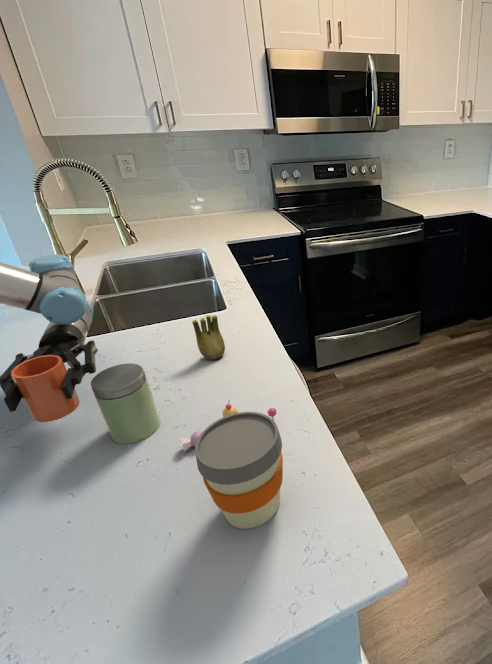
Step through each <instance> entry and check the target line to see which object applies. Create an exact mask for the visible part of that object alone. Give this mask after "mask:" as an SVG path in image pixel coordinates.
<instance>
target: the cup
mask: <svg viewBox="0 0 492 664" xmlns="http://www.w3.org/2000/svg"><path fill="white" fill-rule="evenodd" d="M67 370H68V369H67V368H66V365H65V363H63V360H62V358H61V357H59V356H57V355H45V356H39V357H35V358H32V359H29V360H27V361H24V362H22V363H21V364H19V365H17V366H16V367H15V368H14V369H13V370H12V371H11V376H12V378H13V380H14V382H15V384H16V386H17V388H18V390H19V392H20V394H21V396H22V401H23V402H24V404H25V406H26V408H27V410H28V411H29V414H30V416H31V418H32V419H33V420H34V421H36V422H39V423H50V422H54V421H57V420H60V419H63V418H65V417H67V416H69V415H71V414H72V413H73V412H74V411H76V410H77V409H78V407H79V406H80V399H79V396H78V393H77V391H76V389H74V392H73V395H72V398H70V399H66V397H65V395H64V392H63V390H62V388H61V387H62V384H63V381H64V378H65V376H66V373H67Z"/></svg>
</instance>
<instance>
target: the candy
mask: <svg viewBox="0 0 492 664" xmlns="http://www.w3.org/2000/svg"><path fill="white" fill-rule="evenodd" d="M230 400H231V399H230V398H228V402H227V404H226V405H225V408H224V409H223V410H222V418H223V417H225V416H228V415H231V414H235V413H238V410H237V408H236V407H234V406H233V405H232V404H231V403H230ZM276 415H277V410H276V408H274V407H270V408H268V410H267V416H269V417H270V418H272V419H273V421H274V422H275V416H276ZM202 432H203V431H194V432H193V433H192V434H191V436H190V438H187V437H180V441H181V444H182V448H183V451H184V452H186V451H188V450H189V449H190V448H191V447H192V446H193V447H196V443H197V440H198V438H199V436H200V435H201V433H202Z"/></svg>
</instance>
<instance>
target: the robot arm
mask: <svg viewBox="0 0 492 664" xmlns="http://www.w3.org/2000/svg"><path fill="white" fill-rule="evenodd" d="M28 267H29V270H28V269H24V268H20V267H19V266H18V267H17V266H14V265H12V264H8V263H3V262H1V261H0V305H5V306H9V307H12V308H16V309H21V310H25V311H29V312H32V313H37V314H41V316H42V317H44V319H45V320H47V321H49V323H48V324H47V326H46V327H45V329H44V332H43V334H42V336H41V338H40V340H39V342H38V348H37V349H36V350H33V353H31V354H28V355H26V354H24V353H21V352H19V353H18V354H15V358H14V361H12V363H11V364H10V365H9V366H8V368H6V369H5V371H4V372H2V374H1V375H0V388H1V390H2V391H3V393H4V394H5V396H4V399H3V401H4V403H5V405H6V406H7V409H8V410H9V412H10V413H12V412H16V411H17V409H18V407H19V405H20V403H21V401H22V400H23V398H22V396H21V394H20V392H19V390H18V388H17V386H16V384H15V382H14V380H13V378H12V376H11V371H12V370H13V369H14V368H15V367H16V366H17V365H19V364H21V363H22V362H24V361H27V360H29V359H32V358H35V357H39V356H45V355H57V356H59V357H61V358H62V360H63V363H64V364H65V363H67V365H68V366H69V367H67V369H66V370H67V373H66V376H65V378H64V381H63V384H62V387H61V388H62V390H63V392H64V395H65V397H66V399H70V398H72V395H73V392H74V389H75V388H76V385H80V384H82V382H83V378H84V377H85V376H86V374H94V373H96V371H97V367H96V355H97V353H98V351H99V350H98V348H97V345H96V342H95V340H89V341H88V342H86V339H87V335H88V332H89V329H90V328H91V325H92V323H93V319H94V309H93V306H92V305H91V304H90V303H89V302H88V301H87V297H86V296H85V293H84V292H83V290H82V288H81V285H80V282H79V281H78V278H77V275H76V272H75V269H74V266H73V264H72V262H71V260H70V258H69V257H68V256H67V255H64V254H48V255H42V256H39V257H35V258H34V259H32V260H31V261H29V263H28ZM85 342H86V343H85ZM82 353H83V354H84V363H83V364H81V362H80V361H79V360H78V359H77V357H79V356H80V355H81V354H82ZM75 390H76V389H75Z"/></svg>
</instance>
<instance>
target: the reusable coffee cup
mask: <svg viewBox="0 0 492 664" xmlns="http://www.w3.org/2000/svg"><path fill="white" fill-rule="evenodd" d="M201 432H202V433H201V435H200V436H199V438H198V440H197V443H196V447H195V446H194V447H195V449H194V451H195V460H196V466H197V470H198V472H199V473H200V476H201V477H202V479H203V483H204V485H205V488H206V489H207V491H208V493H209V495H210V497H211V499H212V500H213V502H214V504H215V506H216V507H218V509H220V510H221V512H222V513H223V515H224V517H225V519H226V521H227V522H228V523H229V524H230V525H231V526H232V527H234V528H236V529H240V530H249V529H254V528H257V527H260V526H262V525H264V524H265V523H267V522H268V521H270V520H271V519H272V518H273V517H274V516H275V514H276V513H277V511H278V510H279V506H280V501H281V487H282V484H283V477H284V475H283V473H284V472H283V471H284V470H283V467H284V466H283V463H284V462H283V461H284V459H283V453H282V448H283V441H282V437H281V434H280V431H279V427H278V425H277V423H276V421H275V420H274V421H273V419H272V417H271V416H269V415H268V414H265V413H262V412H257V411H241V412H237V413H235V414H231V415H228V416H225V417H223V416H222V417H221V418H219V419H217V420H215V421H214V422H212V423H211V424H209V425H208V426H207V427H206V428H205V429H204V430H202V431H201Z"/></svg>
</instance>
